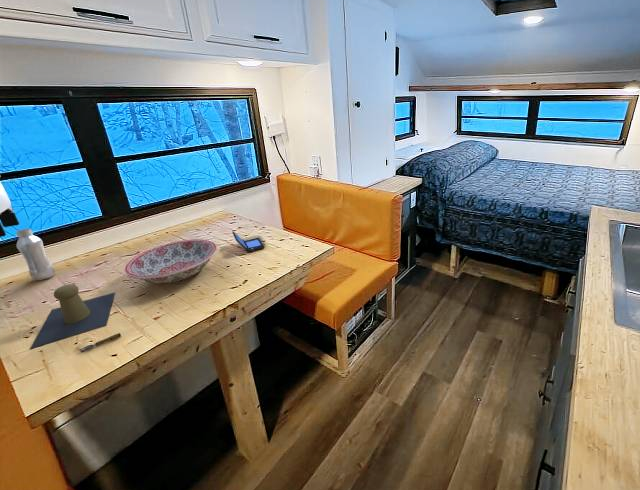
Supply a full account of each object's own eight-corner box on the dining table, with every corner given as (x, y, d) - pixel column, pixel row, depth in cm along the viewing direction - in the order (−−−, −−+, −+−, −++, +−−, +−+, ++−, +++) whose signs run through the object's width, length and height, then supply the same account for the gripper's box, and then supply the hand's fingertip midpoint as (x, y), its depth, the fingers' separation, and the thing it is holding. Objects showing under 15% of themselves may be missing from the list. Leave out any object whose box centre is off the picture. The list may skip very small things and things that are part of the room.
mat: (30, 349, 83) (29, 348, 83) (51, 310, 99) (51, 309, 99) (106, 325, 91) (106, 324, 91) (115, 292, 107) (115, 292, 107)
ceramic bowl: (183, 252, 135) (179, 235, 132) (236, 261, 126) (233, 243, 124) (111, 289, 109) (103, 270, 106) (171, 303, 100) (165, 283, 98)
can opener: (121, 335, 87) (120, 331, 87) (120, 340, 85) (119, 336, 85) (78, 350, 82) (77, 346, 82) (77, 355, 80) (75, 352, 80)
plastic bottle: (46, 273, 120) (24, 226, 114) (62, 273, 120) (41, 226, 113) (27, 282, 114) (3, 234, 107) (44, 282, 114) (21, 234, 107)
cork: (61, 326, 91) (46, 295, 87) (67, 315, 96) (53, 285, 92) (88, 318, 94) (75, 288, 90) (92, 308, 99) (80, 279, 95)
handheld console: (265, 249, 136) (262, 234, 133) (239, 256, 131) (236, 240, 128) (259, 239, 146) (256, 225, 143) (234, 245, 140) (231, 230, 138)
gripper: (-28, 170, 88) (-2, 224, 94) (-64, 182, 74) (-30, 245, 80) (10, 166, 92) (33, 219, 97) (-18, 178, 78) (12, 238, 84)
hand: (5, 231), depth 89 cm, fingers open, 9 cm apart
